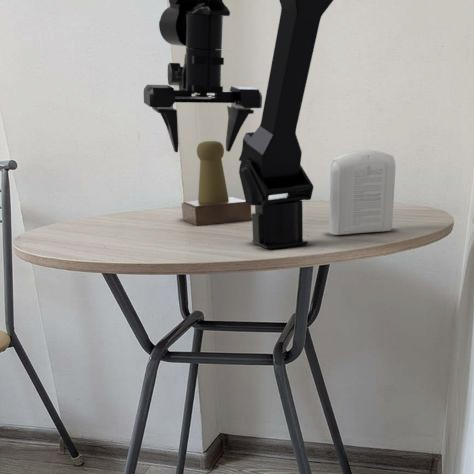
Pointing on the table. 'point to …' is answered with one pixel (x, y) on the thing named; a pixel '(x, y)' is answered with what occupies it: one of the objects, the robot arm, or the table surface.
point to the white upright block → (362, 192)
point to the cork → (211, 173)
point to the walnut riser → (216, 211)
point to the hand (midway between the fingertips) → (202, 151)
